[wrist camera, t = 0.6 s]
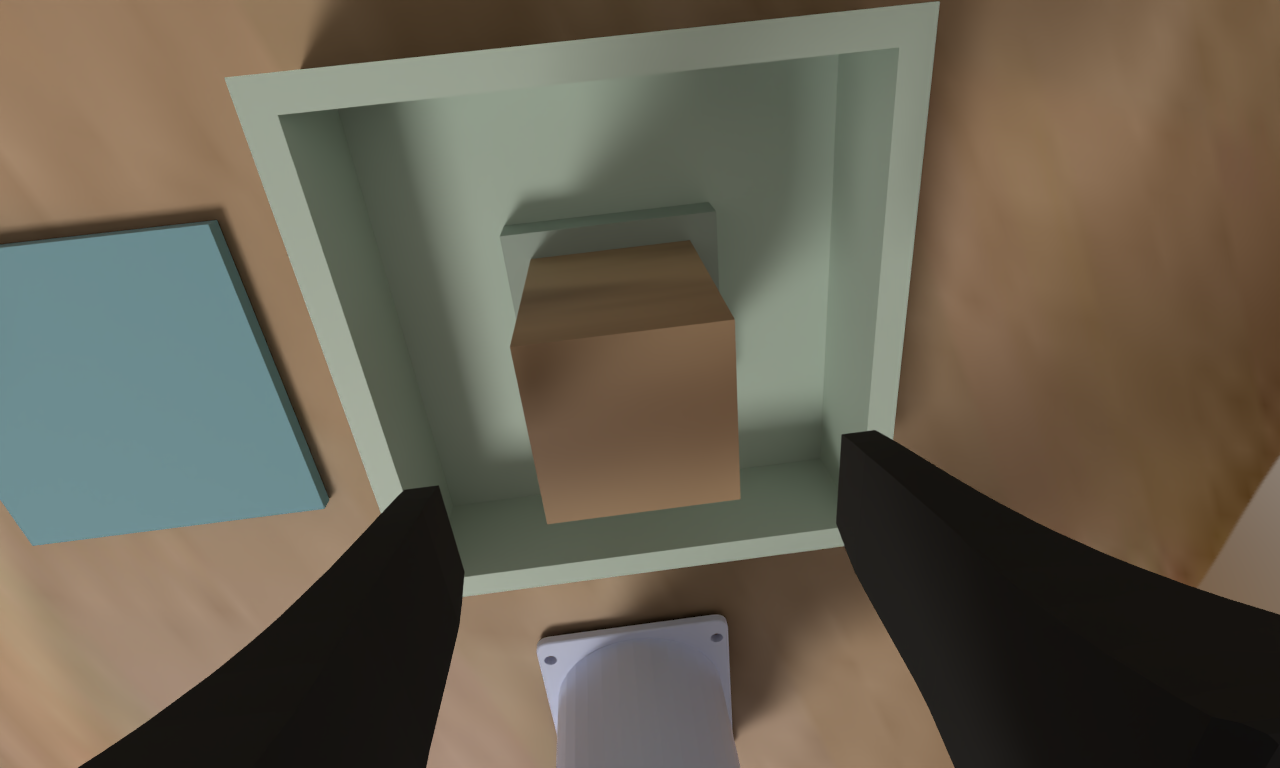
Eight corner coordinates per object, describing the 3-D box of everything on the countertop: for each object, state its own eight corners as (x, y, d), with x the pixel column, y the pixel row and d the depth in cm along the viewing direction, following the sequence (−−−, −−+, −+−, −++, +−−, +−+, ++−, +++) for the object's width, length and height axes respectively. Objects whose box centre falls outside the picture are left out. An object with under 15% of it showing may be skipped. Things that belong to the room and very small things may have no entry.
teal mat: (329, 499, 23) (324, 508, 23) (43, 536, 23) (32, 545, 22) (217, 219, 18) (207, 224, 18) (-146, 261, 18) (-164, 266, 18)
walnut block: (698, 381, 20) (740, 499, 15) (555, 399, 20) (547, 524, 15) (690, 240, 18) (734, 319, 13) (530, 259, 18) (509, 347, 13)
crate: (833, 461, 25) (882, 541, 21) (440, 511, 24) (413, 603, 20) (858, 10, 18) (939, 1, 14) (305, 70, 17) (224, 77, 13)
